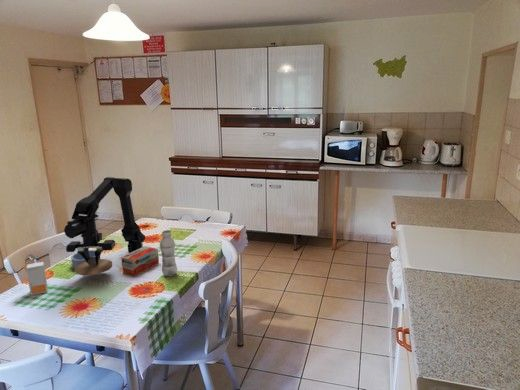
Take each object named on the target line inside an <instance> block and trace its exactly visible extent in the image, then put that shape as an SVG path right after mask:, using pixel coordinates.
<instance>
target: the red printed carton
mask: <svg viewBox="0 0 520 390" xmlns="http://www.w3.org/2000/svg"><path fill="white" fill-rule="evenodd" d="M120 259H121V268H122V272H123V273H124V274H127V275H131V276H135V277H136V276H138V275H140V274H142V273H144V272H146V271H147V270H150V269H152V268H154V267H156V266H158V265H159V264H160V259H159V251H158V248H156V247H150V246H146V245H145V246H144V245H143V247H142V248H140V249H138V250H135V251H133V252H131V253H129V252H128V253H127V254H125V255H122V256H121V257H120Z"/></svg>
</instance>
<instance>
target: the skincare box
mask: <svg viewBox="0 0 520 390" xmlns="http://www.w3.org/2000/svg"><path fill="white" fill-rule="evenodd" d="M26 275H27V281H28V286H29V291H30V296H34V295H39V294H44V293H45V294H46V293H48V280H47V276H46V269H45V261H41V262H40V261H39V262H33V263H28V264H26Z"/></svg>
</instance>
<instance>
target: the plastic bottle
mask: <svg viewBox="0 0 520 390" xmlns="http://www.w3.org/2000/svg"><path fill="white" fill-rule="evenodd" d="M161 237H162V238H161V240H160V242H159V247H160V251H161V258H162V259H161V260H162V262H161V263H162V265H161V272H162V275H163V276H165V277H172V276H175V275H176V274H177V272H178V265H177V263H176V258H175V248H176V242H175V239H174V238H173V237H172V231H171V230H164V231H162V232H161Z"/></svg>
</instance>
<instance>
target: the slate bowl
mask: <svg viewBox="0 0 520 390" xmlns="http://www.w3.org/2000/svg"><path fill="white" fill-rule="evenodd" d="M96 250H97V249H95V250H93V249H89V257H95V251H96ZM70 258H71V266H72V269H73V270H74V271H75V267H76V266H78V265H79V264H81V263H83V262H86V260H85V259H84V258H83V257H82V256H81V255H80V254H79V253H77V252H76V253H74V254H73V255H72V256H71V257H70Z"/></svg>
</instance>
